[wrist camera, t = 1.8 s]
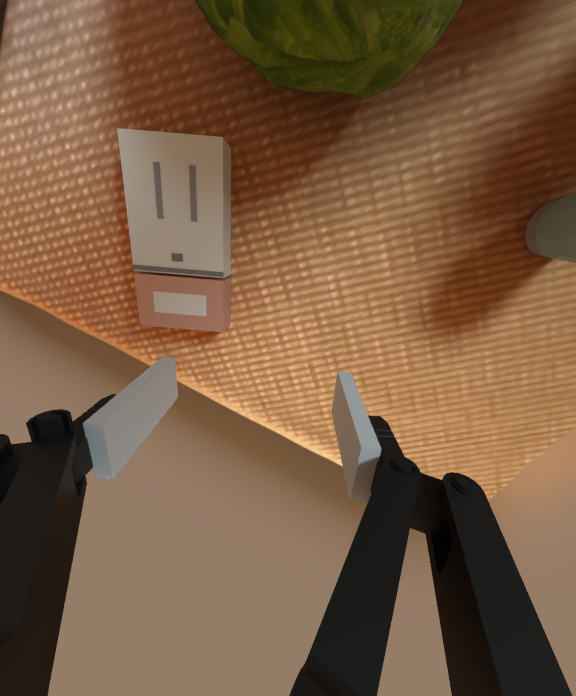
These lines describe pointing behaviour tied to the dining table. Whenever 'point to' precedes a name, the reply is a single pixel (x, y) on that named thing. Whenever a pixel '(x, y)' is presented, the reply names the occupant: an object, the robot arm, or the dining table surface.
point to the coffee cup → (554, 230)
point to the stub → (183, 301)
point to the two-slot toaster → (177, 202)
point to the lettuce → (331, 39)
